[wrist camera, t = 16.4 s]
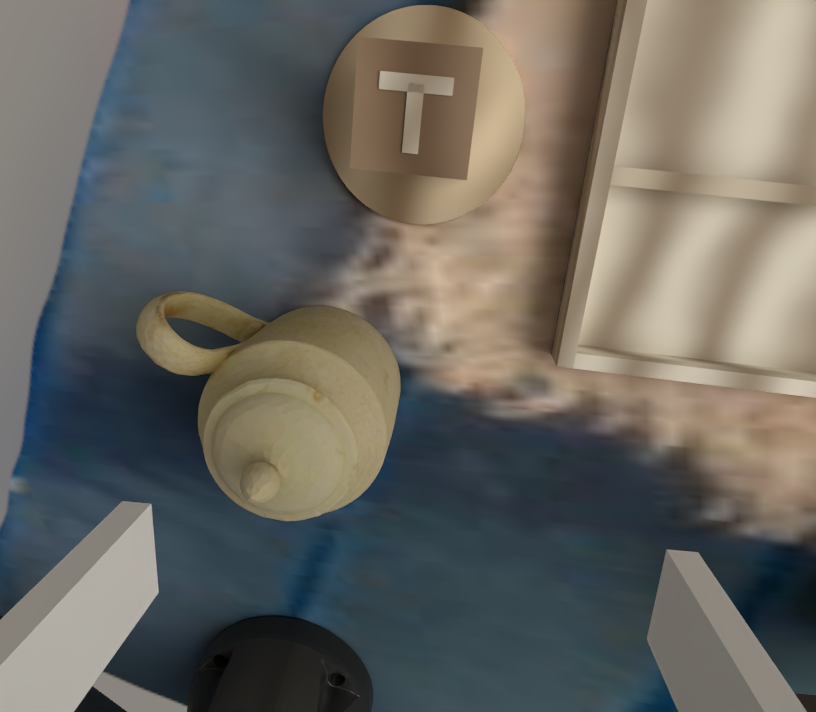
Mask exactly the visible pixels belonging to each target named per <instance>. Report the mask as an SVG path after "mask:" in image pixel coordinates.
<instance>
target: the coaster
mask: <svg viewBox="0 0 816 712" xmlns="http://www.w3.org/2000/svg"><path fill="white" fill-rule="evenodd" d="M358 37H369V38H380V39H391V40H402V41H414V42H425V43H436V44H447V45H458V46H469V47H480V48H483V55H482V63H481V71H480V79H479V87H478V95H477V103H476V111H475V119H474V127H473V135H472V143H471V151H470V159H469V167H468V175H467V180H459V179H450V178H440V177H430V176H420V175H411V174H401V173H391V172H382V171H372V170H362V169H353V168H350V158H351V141H352V125H353V108H354V92H355V75H356V59H357V43H358ZM525 118H526V112H525V98H524V91H523V86H522V83H521V79H520V76H519V73H518V70H517V68H516V66H515V64H514V61H513V59H512V58H511V56H510V54H509V53H508V51H507V49H506V48H505V46H504V45H503V44H502V43H501V41H500V40H499V39H498V38H497V36H496V35H495V34H493V33H492V32H491V31H490V30H489V29H488V28H487V27H486V26H485V25H483V24H482V23H480V22H479V21H477V20H476V19H474V18H473V17H471V16H469V15H467V14H465V13H463V12H460V11H457V10H454V9H451V8H448V7H442V6H436V5H417V6H409V7H404V8H401V9H397V10H394V11H391V12H389V13H387V14H385V15H382V16H380V17H378V18H377V19H375V20H374V21H372V22H371V23H369V24H368V25H366V26H365V27H364V28H363V29H362V30H361V31H359V32H358V33H357V34H356V35H355V36H354V37H353V39H352V40H351V41H350V42H349V43H348V44H347V45H346V47H345V48H344V50H343V51H342V53H341V54H340V56H339V57H338V59H337V61H336V63H335V65H334V67H333V69H332V72H331V75H330V77H329V80H328V83H327V87H326V92H325V96H324V105H323V129H324V136H325V141H326V145H327V149H328V153H329V155H330V158H331V161H332V163H333V166H334V167H335V169H336V171H337V173H338V175H339V177H340V178H341V180H342V181H343V182H344V184H345V185H346V187H347V188H348V189H349V190H350V191H351V192H352V193H353V195H354V196H355V197H356V198H357V199H359V200H360V201H361V202H362V203H363V204H365V205H366V206H367V207H369V208H370V209H372V210H373V211H375V212H376V213H379V214H381V215H383V216H385V217H387V218H390V219H393V220H396V221H399V222H404V223H409V224H423V225H426V224H437V223H442V222H446V221H450V220H453V219H455V218H458V217H461V216H463V215H465V214H467V213H469V212H471V211H472V210H474V209H475V208H477V207H478V206H480V205H481V204H483V203H484V202H485V201H486V200H487V199H488V198H489V197H491V196H492V195H493V194H494V193H495V192H496V190H497V189H498V188H499V187H500V186H501V184H502V183H503V182H504V180H505V179H506V177H507V176H508V174H509V173H510V171H511V169H512V167H513V165H514V163H515V161H516V159H517V156H518V153H519V150H520V147H521V144H522V139H523V135H524V129H525Z"/></svg>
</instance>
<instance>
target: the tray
mask: <svg viewBox="0 0 816 712" xmlns="http://www.w3.org/2000/svg"><path fill="white" fill-rule="evenodd" d="M551 355H552V357H553V359H554V361H555V363H556V366H557V367H565V368H573V369H582V370H590V371H598V372H607V373H615V374H623V375H631V376H640V377H648V378H656V379H665V380H673V381H681V382H689V383H698V384H706V385H714V386H723V387H731V388H739V389H747V390H756V391H764V392H772V393H781V394H789V395H797V396H805V397H814V398H816V0H617V4H616V10H615V15H614V20H613V26H612V31H611V36H610V42H609V47H608V53H607V58H606V63H605V69H604V74H603V79H602V85H601V90H600V95H599V101H598V106H597V111H596V117H595V122H594V127H593V133H592V138H591V143H590V149H589V154H588V159H587V165H586V170H585V176H584V181H583V186H582V192H581V197H580V202H579V208H578V213H577V218H576V224H575V229H574V234H573V240H572V245H571V250H570V256H569V261H568V266H567V272H566V277H565V282H564V288H563V293H562V299H561V304H560V309H559V315H558V320H557V325H556V331H555V336H554V341H553V347H552V352H551Z"/></svg>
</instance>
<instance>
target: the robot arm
mask: <svg viewBox="0 0 816 712" xmlns="http://www.w3.org/2000/svg"><path fill="white" fill-rule="evenodd" d="M158 593H159V591H158V579H157V567H156V555H155V543H154V531H153V519H152V507H151V504H148V503H137V502H126V501H122V502H121V503H120V504H119V505H118V506H117V507H116V508H115V509H114V510H113V511H112V512H111V513H110V514H109V515H108V516H107V517H106V518H105V519H104V520H103V521H102V522H101V523H100V524H98V525H97V526H96V527H95V528H94V529H93V530H92V531H91V532H90V533H89V534H88V535H87V536H86V537H85V538H84V539H83V540H82V541H81V542H80V543H79V544H78V545H77V546H76V547H75V548H74V549H73V550H72V551H71V552H70V553H69V554H68V555H67V556H65V557H64V558H63V559H62V560H61V561H60V562H59V563H58V564H57V565H56V566H55V567H54V568H53V569H52V570H51V571H50V572H49V573H48V574H47V575H46V576H45V577H44V578H43V579H42V580H41V581H40V582H39V583H38V584H37V585H36V586H35V587H34V588H32V589H31V590H30V591H29V592H28V593H27V594H26V595H25V596H24V597H23V598H22V599H21V600H20V601H19V602H18V603H17V604H16V605H15V606H14V607H13V608H12V609H11V610H10V611H9V612H8V613H7V614H6V615H5V616H0V712H126V711H125V710H124V709H122V708H121V707H120V706H118V705H117V704H116V703H114V702H113V701H112V700H110V699H109V698H108V697H106V696H105V695H104V694H102V693H101V692H99V691H98V690H97V689H95V688H94V687H93V684H94V683H95V681H96V680H97V678H98V677H99V676H100V674H101V673H102V672H103V670H104V669H105V667H106V666H107V665H108V663H109V662H110V660H111V659H112V657H113V656H114V655H115V653H116V652H117V650H118V649H119V648H120V646H121V645H122V643H123V642H124V641H125V639H126V638H127V636H128V635H129V634H130V632H131V631H132V629H133V628H134V627H135V625H136V624H137V622H138V621H139V620H140V618H141V617H142V615H143V614H144V612H145V611H146V610H147V608H148V607H149V605H150V604H151V603H152V601H153V600H154V598H155V597H156V596H157V594H158ZM647 641H648V644H649V646H650V648H651V651H652V653H653V655H654V657H655V660H656V662H657V664H658V667H659V669H660V671H661V673H662V676H663V678H664V680H665V682H666V685H667V687H668V689H669V692H670V694H671V696H672V698H673V701H674V703H675V705H676V708H677V710H678V712H816V696H815V695H805V694H794V692H793V691H792V689H791V688H790V686H789V685H788V683H787V682H786V680H785V679H784V677H783V676H782V674H781V673H780V672H779V670H778V669H777V667H776V666H775V664H774V663H773V661H772V660H771V658H770V657H769V655H768V654H767V653H766V651H765V650H764V648H763V647H762V645H761V644H760V642H759V641H758V639H757V638H756V636H755V635H754V634H753V632H752V631H751V629H750V628H749V626H748V625H747V623H746V622H745V620H744V619H743V617H742V616H741V614H740V613H739V612H738V610H737V609H736V607H735V606H734V604H733V603H732V601H731V600H730V598H729V597H728V595H727V594H726V593H725V591H724V590H723V588H722V587H721V585H720V584H719V582H718V581H717V579H716V578H715V576H714V575H713V573H712V572H711V571H710V569H709V568H708V566H707V565H706V563H705V562H704V560H703V559H702V557H701V556H700V554H699V553H698V552H689V551H678V550H666V554H665V559H664V563H663V568H662V572H661V577H660V581H659V586H658V590H657V595H656V600H655V604H654V609H653V613H652V618H651V622H650V627H649V631H648V636H647ZM372 703H373V688H372V683H371V679H370V676H369V674H368V672H367V669H366V668H365V666H364V664H363V662H362V661H361V659H360V658H359V657H358V655H357V654H356V653H355V652H354V651H353V650H352V649H351V648H350V647H349V646H348V645H347V644H346V643H345V642H344V641H342V640H341V639H340V638H338V637H337V636H335V635H334V634H332V633H330V632H329V631H327V630H325V629H323V628H321V627H319V626H317V625H314V624H311V623H309V622H305V621H302V620H298V619H293V618H287V617H259V618H253V619H248V620H245V621H242V622H239V623H237V624H234V625H232V626H231V627H229V628H227V629H226V630H224V631H223V632H221V633H220V634H219V635H218V636H217V637H216V638H215V639H214V640H213V641H212V642H211V644H210V645H209V647H208V649H207V650H206V652H205V654H204V656H203V658H202V660H201V662H200V663H199V665H198V667H197V669H196V672H195V674H194V677H193V680H192V684H191V690H190V696H189V703H188V709H187V712H371V710H372Z"/></svg>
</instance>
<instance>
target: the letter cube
mask: <svg viewBox="0 0 816 712" xmlns="http://www.w3.org/2000/svg"><path fill="white" fill-rule="evenodd" d="M482 55H483V48H480V47H469V46H458V45H447V44H436V43H425V42H414V41H402V40H391V39H380V38H369V37H358V43H357V59H356V75H355V92H354V108H353V125H352V141H351V158H350V168H353V169H362V170H372V171H382V172H391V173H401V174H411V175H420V176H430V177H440V178H450V179H459V180H467V175H468V167H469V159H470V151H471V143H472V135H473V127H474V119H475V111H476V103H477V95H478V87H479V79H480V71H481V63H482Z"/></svg>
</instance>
